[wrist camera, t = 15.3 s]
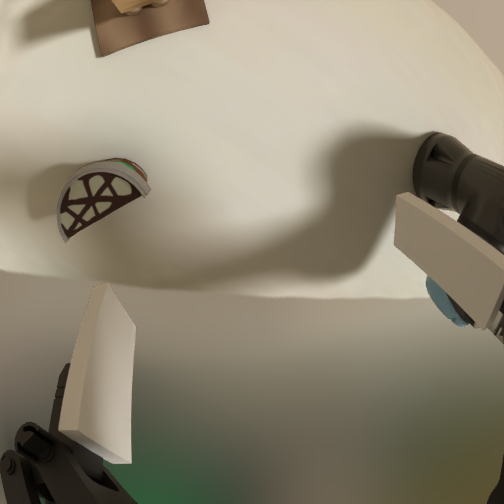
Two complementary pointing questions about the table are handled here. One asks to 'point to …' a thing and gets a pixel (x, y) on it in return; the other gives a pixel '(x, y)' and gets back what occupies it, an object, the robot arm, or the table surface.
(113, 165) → the food container
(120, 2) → the oak block
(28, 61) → the table surface
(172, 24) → the peg stand
